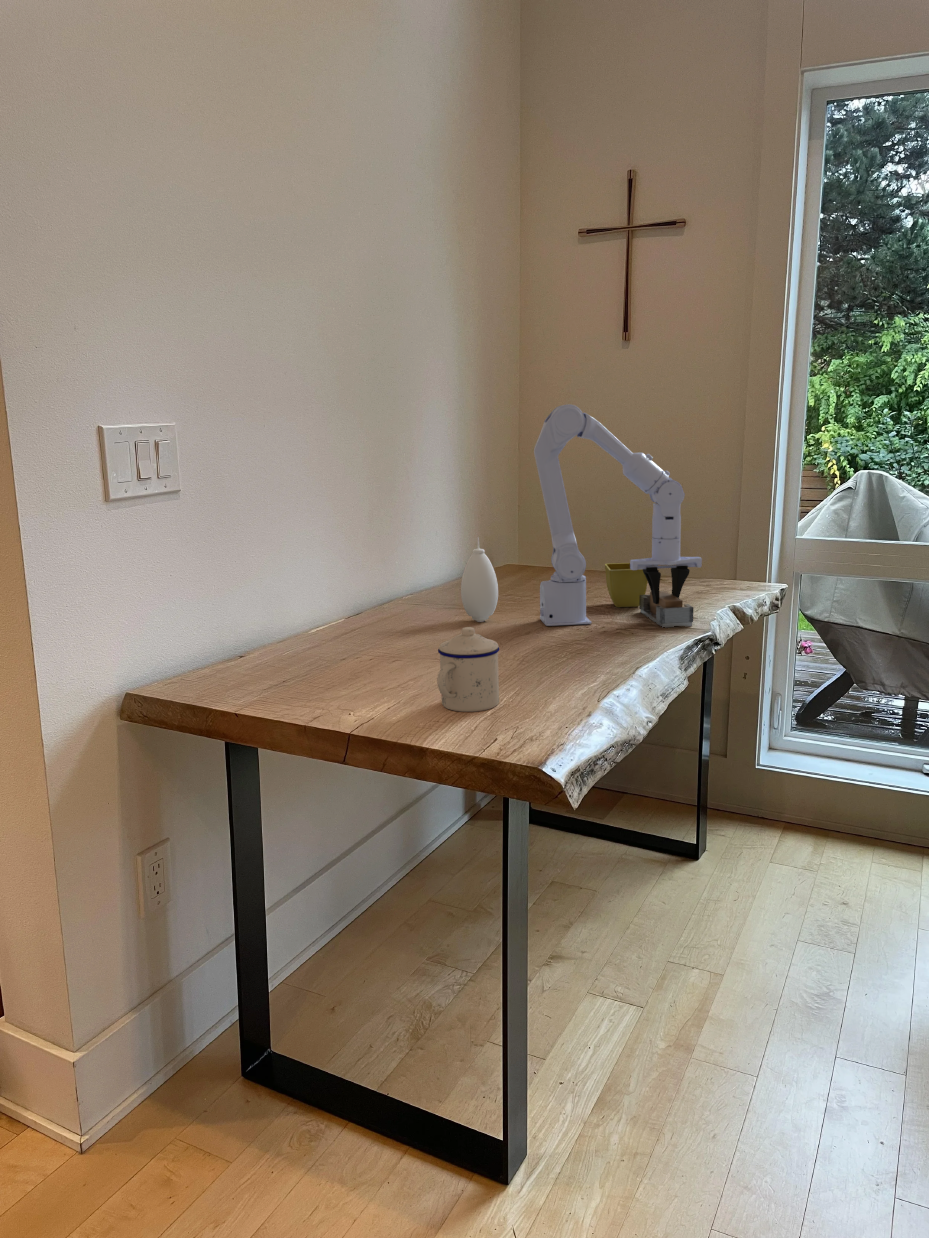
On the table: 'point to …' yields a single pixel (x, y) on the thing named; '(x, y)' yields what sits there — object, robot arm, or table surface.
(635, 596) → the flower pot
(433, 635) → the table surface
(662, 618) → the bracket
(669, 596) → the block
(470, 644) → the teacup with lid
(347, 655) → the table surface
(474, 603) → the white rubber air blower
